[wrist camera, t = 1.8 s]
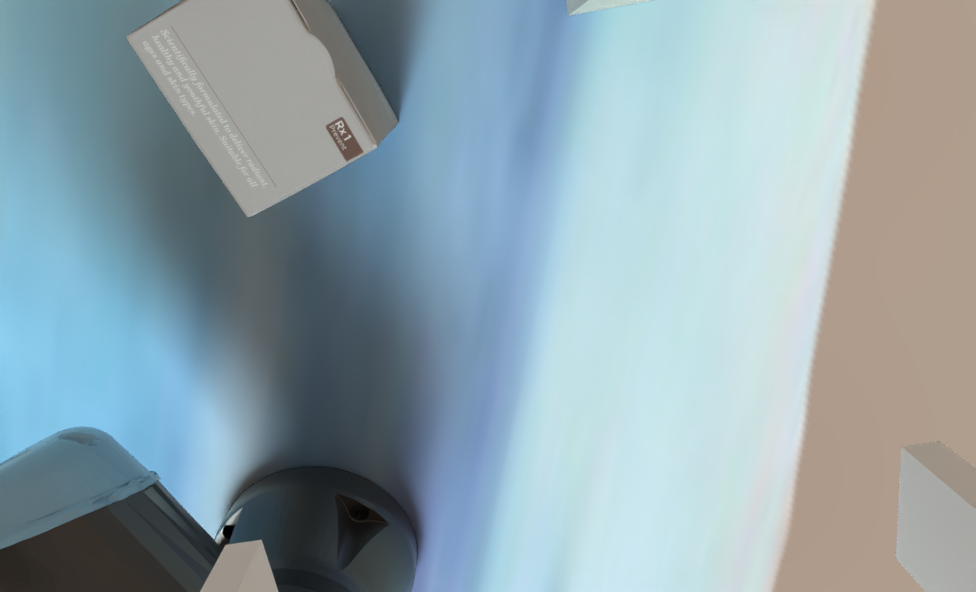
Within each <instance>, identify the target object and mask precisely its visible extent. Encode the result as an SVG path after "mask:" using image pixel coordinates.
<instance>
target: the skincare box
mask: <svg viewBox="0 0 976 592" xmlns="http://www.w3.org/2000/svg"><path fill="white" fill-rule="evenodd" d="M127 40H128V42H129V43H130V45H131V46H132V48H133V49H134V51H135V52H136V54H137V55H138V57H139V58H140V60H141V61H142V63H143V64H144V66H145V67H146V69H147V70H148V72H149V74H150V75H151V77H152V78H153V80H154V81H155V83H156V84H157V86H158V87H159V89H160V90H161V92H162V93H163V95H164V96H165V98H166V99H167V101H168V102H169V104H170V105H171V107H172V108H173V110H174V111H175V113H176V114H177V116H178V117H179V119H180V120H181V122H182V123H183V125H184V126H185V128H186V129H187V131H188V132H189V134H190V135H191V137H192V138H193V140H194V141H195V143H196V144H197V146H198V147H199V148H200V150H201V151H202V153H203V154H204V156H205V157H206V159H207V160H208V161H209V163H210V164H211V166H212V167H213V169H214V170H215V172H216V173H217V175H218V176H219V177H220V179H221V180H222V182H223V183H224V185H225V186H226V188H227V189H228V190H229V192H230V193H231V195H232V196H233V198H234V199H235V201H236V202H237V203H238V205H239V206H240V208H241V209H242V210H243V212H244V213H245V215H246V216H247V217H251V216H253V215H256V214H258V213H259V212H261V211H263V210H265V209H267V208H269V207H271V206H273V205H275V204H277V203H279V202H281V201H283V200H284V199H286V198H288V197H290V196H292V195H294V194H295V193H297V192H299V191H301V190H303V189H305V188H306V187H308V186H310V185H312V184H314V183H316V182H317V181H319V180H321V179H323V178H325V177H326V176H328V175H330V174H332V173H334V172H335V171H337V170H339V169H341V168H343V167H344V166H346V165H348V164H350V163H352V162H353V161H355V160H357V159H359V158H361V157H362V156H364V155H366V154H368V153H369V152H371V151H373V150H375V149H376V148H377V147H378V145H379V144H380V143H381V141H382V140H383V139H384V138H385V137H386V136H387V135H388V134H389V133H390V132H391V131H392V130H393V129H394V128H395V127H396V125H397V124H398V123H399V121H398V120H397V118H396V116H395V114H394V112H393V110H392V108H391V107H390V105H389V103H388V101H387V99H386V98H385V96H384V94H383V92H382V90H381V89H380V87H379V85H378V83H377V82H376V80H375V78H374V76H373V75H372V73H371V71H370V70H369V68H368V66H367V65H366V63H365V61H364V60H363V58H362V56H361V55H360V53H359V51H358V50H357V48H356V46H355V45H354V43H353V41H352V40H351V38H350V36H349V34H348V33H347V31H346V29H345V28H344V26H343V24H342V23H341V21H340V19H339V17H338V16H337V14H336V12H335V11H334V9H333V8H332V6H331V5H330V3H328V2H327V1H326V0H182V1H180V2H179V3H177V4H176V5H174V6H173V7H171V8H170V9H168V10H167V11H165V12H163V13H162V14H160V15H159V16H157V17H156V18H154V19H153V20H151V21H150V22H148V23H146V24H145V25H143V26H142V27H140V28H139V29H137V30H135V31H134V32H132V33H131V34H129V35H128V36H127Z"/></svg>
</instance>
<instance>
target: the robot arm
mask: <svg viewBox="0 0 976 592" xmlns="http://www.w3.org/2000/svg"><path fill="white" fill-rule="evenodd" d="M160 479H161V478H160V477H159V476H158V474H157V473H156V472H153V471H148V470H147V469H146V468H145V467H144V466H143V465H142V464H141V463H140V462H139V461H138V460H136V459H135V458H134V457H133V456H132V455H131V454H130V453H129V452H128V451H127V450H126V449H125V448H123V447H122V446H121V445H120V444H119V443H118V442H117V441H116V440H115V439H114V438H113V437H112V436H110V435H109V434H107V433H106V432H104V431H102V430H99V429H96V428H92V427H74V428H69V429H65V430H62V431H60V432H57V433H55V434H53V435H51V436H49V437H47V438H45V439H43V440H41V441H40V442H38V443H36V444H34V445H32V446H30V447H29V448H27V449H25V450H23V451H21V452H19V453H18V454H16V455H14V456H12V457H11V458H9V459H7V460H5V461H4V462H2V463H0V592H411V591H412V588H413V584H414V579H415V571H416V563H417V542H416V537H415V534H414V530H413V528H412V525H411V523H410V521H409V519H408V517H407V516H406V514H405V512H404V511H403V510H402V508H401V507H400V506H399V504H398V503H397V502H396V501H395V500H394V499H393V498H392V497H391V496H390V495H389V494H388V493H386V492H385V491H384V490H383V489H381V488H380V487H378V486H377V485H375V484H374V483H372V482H370V481H368V480H366V479H364V478H362V477H360V476H357V475H355V474H352V473H349V472H346V471H342V470H338V469H333V468H325V467H301V468H293V469H288V470H284V471H280V472H277V473H274V474H272V475H269V476H267V477H265V478H263V479H261V480H259V481H258V482H256V483H254V484H253V485H252V486H250V487H249V488H248V489H246V490H245V491H244V492H243V493H242V494H241V495H240V496H239V497H238V498H237V500H236V501H235V502H234V503H233V505H232V506H231V508H230V510H229V511H228V513H227V515H226V517H225V518H224V520H223V522H222V524H221V525H220V527H219V529H218V531H217V534H216V536H215V539H213V538H212V537H211V536H210V535H209V534H208V533H207V532H206V531H205V530H204V529H203V528H202V527H201V526H200V525H199V524H198V522H197V521H196V520H195V519H194V518H193V517H192V516H191V515H190V514H189V513H188V512H187V511H186V510H185V509H184V508H183V507H182V506H181V505H180V504H179V503H178V501H177V500H176V499H175V498H174V497H173V496H172V495H171V494H170V493H169V492H168V490H167V489H166V488H165V487H164V486H163V485H162V484H161V483H160V482H159V480H160ZM898 504H899V505H898V523H897V544H896V559H897V560H898V561H899V562H900V564H902V566H903V567H904V568H905V569H906V570H907V571H908V572H909V574H910V575H911V576H912V577H913V578H914V579H915V580H916V581H917V583H918V584H919V585H920V586H921V587H922V588H923V589H924V590H925V592H976V468H975V467H973V466H972V465H971V464H969V463H968V462H967V461H965V460H964V459H963V458H962V457H960V456H959V455H957V454H956V453H955V452H954V451H952V450H951V449H950V448H948V447H947V446H946V445H945V444H943V443H942V442H940V441H937V442H929V443H922V444H916V445H909V446H902V447H901V464H900V483H899V503H898Z"/></svg>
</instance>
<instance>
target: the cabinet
mask: <svg viewBox="0 0 976 592" xmlns="http://www.w3.org/2000/svg"><path fill="white" fill-rule="evenodd" d="M647 1H653V0H566V5H567V13H568V16H570V15H576V14H581V13H587V12H592V11H598V10H603V9H609V8H614V7H620V6H625V5H631V4H636V3H642V2H647Z"/></svg>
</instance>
